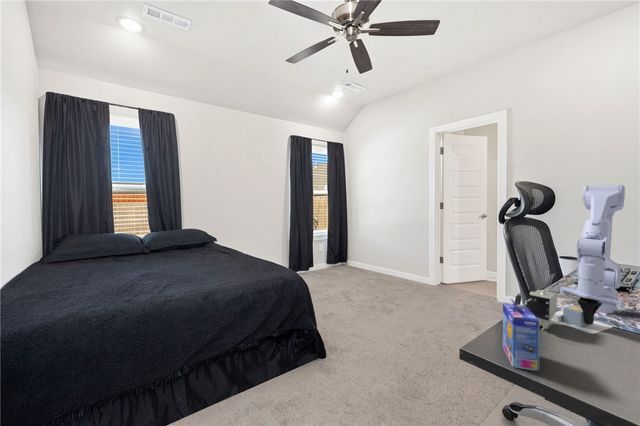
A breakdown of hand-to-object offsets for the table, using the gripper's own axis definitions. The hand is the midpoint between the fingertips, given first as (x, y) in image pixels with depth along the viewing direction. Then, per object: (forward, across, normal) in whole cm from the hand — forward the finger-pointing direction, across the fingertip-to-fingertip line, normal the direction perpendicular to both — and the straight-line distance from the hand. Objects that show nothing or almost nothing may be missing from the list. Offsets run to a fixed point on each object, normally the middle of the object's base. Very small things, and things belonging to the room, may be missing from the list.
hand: (588, 323), depth 87 cm
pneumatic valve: (+2, -6, -12) cm, 14 cm away
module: (+1, -3, 0) cm, 3 cm away
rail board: (+2, -3, +2) cm, 4 cm away
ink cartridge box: (+2, +2, -35) cm, 35 cm away
